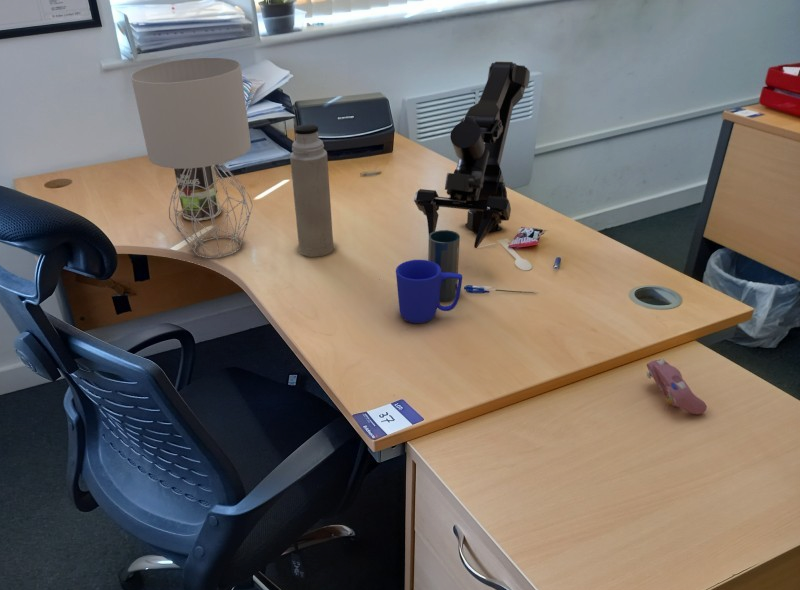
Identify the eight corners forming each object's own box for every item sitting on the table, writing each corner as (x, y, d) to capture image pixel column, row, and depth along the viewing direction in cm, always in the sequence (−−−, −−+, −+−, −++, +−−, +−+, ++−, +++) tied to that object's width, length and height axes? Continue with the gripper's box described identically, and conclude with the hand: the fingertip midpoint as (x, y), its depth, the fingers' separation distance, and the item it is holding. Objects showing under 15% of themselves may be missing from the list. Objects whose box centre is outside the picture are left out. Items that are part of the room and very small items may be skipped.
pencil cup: (441, 284, 140) (443, 227, 133) (462, 294, 136) (466, 236, 129) (421, 294, 137) (422, 236, 130) (442, 304, 133) (444, 245, 126)
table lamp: (187, 278, 150) (148, 89, 128) (158, 243, 167) (119, 70, 144) (279, 252, 158) (257, 68, 135) (242, 220, 175) (218, 53, 152)
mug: (459, 329, 126) (462, 281, 120) (393, 326, 128) (393, 279, 122) (460, 307, 132) (463, 260, 127) (398, 304, 135) (398, 258, 129)
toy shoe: (649, 387, 110) (637, 358, 107) (676, 374, 109) (665, 344, 106) (680, 427, 102) (669, 396, 99) (710, 413, 101) (700, 382, 98)
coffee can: (209, 222, 175) (200, 169, 167) (175, 219, 179) (164, 166, 171) (228, 207, 183) (220, 155, 175) (195, 204, 187) (186, 153, 179)
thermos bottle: (308, 240, 162) (297, 120, 147) (338, 244, 159) (331, 122, 143) (293, 254, 157) (280, 131, 141) (324, 258, 154) (315, 133, 138)
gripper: (417, 150, 135) (398, 224, 133) (512, 157, 128) (494, 235, 126) (428, 174, 145) (411, 244, 143) (518, 182, 138) (501, 255, 136)
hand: (452, 244), depth 137 cm, fingers open, 9 cm apart
